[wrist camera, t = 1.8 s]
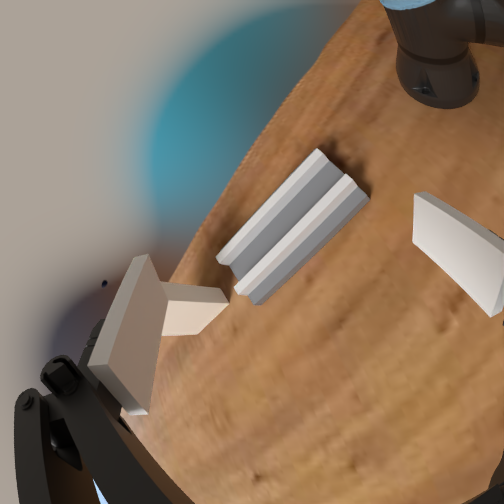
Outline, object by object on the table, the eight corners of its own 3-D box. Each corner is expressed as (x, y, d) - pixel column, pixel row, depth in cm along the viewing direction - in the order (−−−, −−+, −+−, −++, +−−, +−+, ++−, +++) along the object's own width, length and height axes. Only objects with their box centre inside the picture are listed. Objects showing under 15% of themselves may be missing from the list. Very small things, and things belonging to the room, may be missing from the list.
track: (320, 153, 46) (308, 141, 43) (370, 199, 40) (362, 189, 37) (227, 252, 54) (210, 248, 50) (260, 305, 48) (244, 304, 44)
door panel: (218, 284, 54) (147, 275, 41) (229, 303, 52) (156, 299, 39) (188, 316, 57) (119, 314, 44) (197, 334, 55) (127, 336, 42)
